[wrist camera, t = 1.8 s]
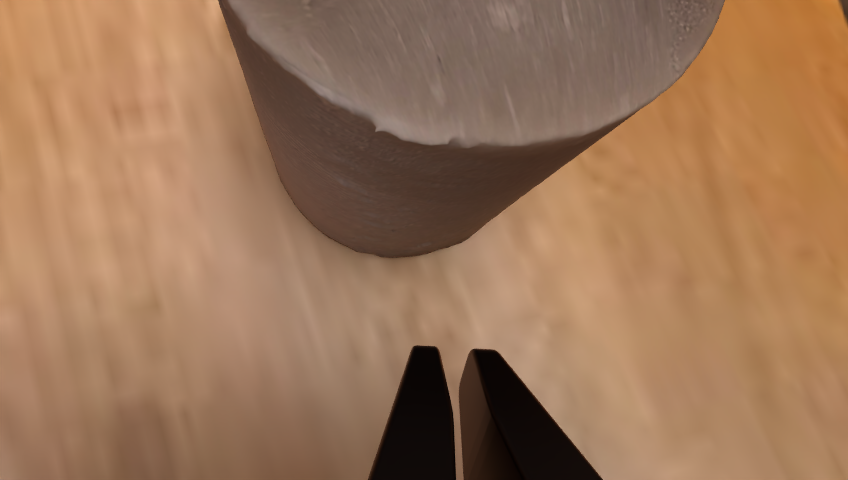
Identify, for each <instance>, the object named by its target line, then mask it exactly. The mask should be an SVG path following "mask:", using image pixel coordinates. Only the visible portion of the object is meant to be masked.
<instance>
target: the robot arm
mask: <svg viewBox="0 0 848 480" xmlns="http://www.w3.org/2000/svg"><path fill="white" fill-rule="evenodd" d="M459 408H460V425H461V441H462V458H463V474H464V480H603V479H602V478H601V477H600V476H599V474H598V473H597V472H596V471H595V469H594V468H593V467H592V466H591V465H590V463H589V462H588V461H587V460H586V458H585V457H584V456H583V455H582V454H581V452H580V451H579V450H578V449H577V447H576V446H575V445H574V444H573V443H572V441H571V440H570V439H569V438H568V436H567V435H566V434H565V433H564V432H563V430H562V429H561V428H560V427H559V425H558V424H557V423H556V422H555V421H554V419H553V418H552V417H551V416H550V414H549V413H548V412H547V411H546V410H545V408H544V407H543V406H542V405H541V403H540V402H539V401H538V400H537V399H536V397H535V396H534V395H533V394H532V392H531V391H530V390H529V389H528V388H527V386H526V385H525V384H524V383H523V382H522V380H521V379H520V378H519V377H518V375H517V374H516V373H515V372H514V371H513V369H512V368H511V367H510V366H509V364H508V363H507V362H506V361H505V360H504V358H503V357H502V356H501V355H500V354H499V353H498V352H497V351H496V350H491V349H472V350H471V351H470V353H469V355H468V358H467V361H466V364H465V368H464V371H463V374H462V378H461V381H460V386H459ZM368 480H456V469H455V442H454V420H453V411H452V405H451V400H450V396H449V391H448V387H447V382H446V378H445V373H444V369H443V364H442V360H441V355H440V351H439V349H438V348H437V347H435V346H418V345H417V346H414V347H413V348H412V350H411V352H410V355H409V358H408V361H407V364H406V367H405V370H404V373H403V376H402V379H401V382H400V385H399V388H398V391H397V394H396V397H395V400H394V403H393V406H392V409H391V412H390V415H389V418H388V421H387V424H386V427H385V430H384V433H383V436H382V439H381V442H380V445H379V448H378V451H377V454H376V457H375V460H374V463H373V466H372V469H371V472H370V475H369V478H368Z"/></svg>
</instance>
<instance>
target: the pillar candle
mask: <svg viewBox="0 0 848 480" xmlns="http://www.w3.org/2000/svg"><path fill="white" fill-rule="evenodd" d="M218 1H219V5H220V8H221V10H222V13H223V16H224V19H225V21H226V24H227V27H228V30H229V33H230V36H231V39H232V42H233V45H234V47H235V50H236V53H237V56H238V59H239V62H240V65H241V67H242V70H243V73H244V76H245V79H246V82H247V85H248V88H249V91H250V94H251V97H252V100H253V104H254V107H255V109H256V112H257V115H258V117H259V121H260V124H261V127H262V130H263V133H264V135H265V138H266V141H267V144H268V146H269V149H270V151H271V154H272V157H273V160H274V162H275V166H276V169H277V172H278V175H279V177H280V180H281V182H282V183H283V185H284V187H285V189H286V191H287V192H288V194H289V195H290V197H291V198H292V200H293V202H294V204H295V205H296V206H297V208H298V209H299V210H300V211H301V213H302V214H303V215H304V216H305V217H306V218H307V219H308V220H309V221H310V222H311V223H312V224H313V225H314V226H315V227H317V228H318V229H319V230H320V231H321V232H323V233H324V234H326V235H327V236H328V237H330V238H332V239H334V240H335V241H337V242H339V243H341V244H343V245H345V246H347V247H349V248H352V249H354V250H355V251H358V252H363V253H371V254H375V255H378V256H380V257H389V258H393V257H410V256H417V255H422V254H426V253H430V252H433V251H435V250H438V249H442V248H447V247H450V246H452V245H455V244H458V243H462V242H463V241H465V240H467V239H468V238H469V237H470V236H472V235H473V234H474V233H475V232H477V231H478V230H479V229H480V228H482V227H483V226H484V225H485V224H486V223H487V222H489V221H490V220H491V219H493V218H494V217H496V216H497V215H498V214H499V213H501V212H502V211H503V210H505V209H506V208H507V207H508V206H510V205H511V204H513V203H514V202H515V201H517V200H518V199H519V198H520V197H522V196H523V195H525V194H526V193H527V192H529V191H530V190H531V189H532V188H534V187H535V186H537V185H538V184H540V183H541V182H543V181H544V180H545V179H546V178H548V177H549V176H550V175H552V174H553V173H555V172H556V171H557V170H558V169H560V168H561V167H562V166H564V165H565V164H567V163H568V162H569V161H571V160H572V159H574V158H575V157H576V156H578V155H579V154H580V153H582V152H583V151H585V150H586V149H587V148H589V147H590V146H591V145H593V144H594V143H595V142H597V141H598V140H599V139H601V138H602V137H604V136H605V135H606V134H608V133H609V132H610V131H612V130H613V129H614V128H616V127H617V126H618V125H620V124H621V123H623V122H624V121H625V120H627V119H628V118H629V117H631V116H632V115H634V114H635V113H636V112H637V111H638V110H640V109H641V108H643V107H644V106H646V105H648V104H649V103H651V102H652V101H653V100H654V99H656V98H657V97H658V96H659V95H660V94H662V93H663V92H665V91H666V90H667V89H668V88H670V87H671V86H672V85H673V84H674V83H675V82H676V81H677V80H678V79H679V78H680V77H681V76H682V75H683V74H684V72H685V71H686V70H687V69H688V67H689V66H690V65H691V63H692V62H693V61H694V59H695V58H696V57H697V55H698V54H699V53H700V51H701V50H702V48H703V47H704V45H705V44H706V42H707V40H708V38H709V37H710V35H711V34H712V32H713V29H714V27H715V25H716V23H717V21H718V19H719V15H720V13H721V10H722V7H723V5H724V1H725V0H218Z"/></svg>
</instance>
